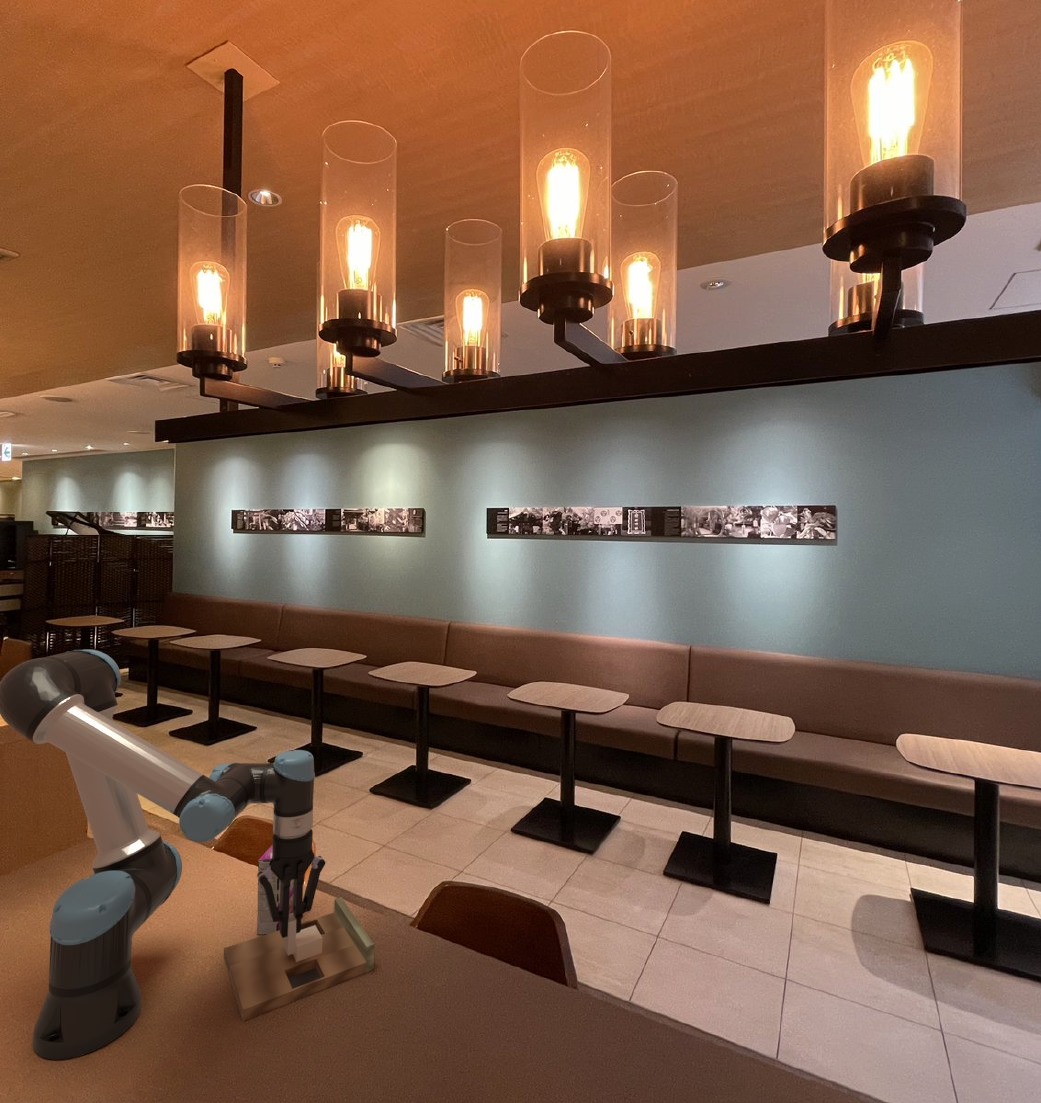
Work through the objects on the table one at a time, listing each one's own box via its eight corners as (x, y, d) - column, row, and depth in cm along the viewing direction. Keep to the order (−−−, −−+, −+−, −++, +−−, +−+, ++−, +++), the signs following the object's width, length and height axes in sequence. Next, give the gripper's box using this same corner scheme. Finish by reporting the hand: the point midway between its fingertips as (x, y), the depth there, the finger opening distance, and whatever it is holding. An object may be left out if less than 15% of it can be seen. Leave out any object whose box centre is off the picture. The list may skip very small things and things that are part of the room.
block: (296, 962, 116) (296, 946, 116) (290, 948, 120) (290, 933, 120) (322, 953, 119) (322, 937, 119) (314, 939, 123) (315, 925, 123)
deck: (242, 1021, 103) (243, 992, 104) (223, 958, 120) (224, 933, 120) (373, 969, 117) (374, 944, 117) (340, 919, 134) (341, 897, 134)
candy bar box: (277, 906, 138) (279, 835, 139) (298, 906, 138) (300, 836, 139) (254, 936, 127) (257, 859, 127) (277, 936, 127) (280, 860, 127)
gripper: (262, 847, 111) (259, 973, 111) (331, 830, 119) (328, 949, 118) (254, 832, 117) (251, 952, 117) (320, 817, 125) (317, 929, 124)
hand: (289, 950), depth 118 cm, fingers closed
